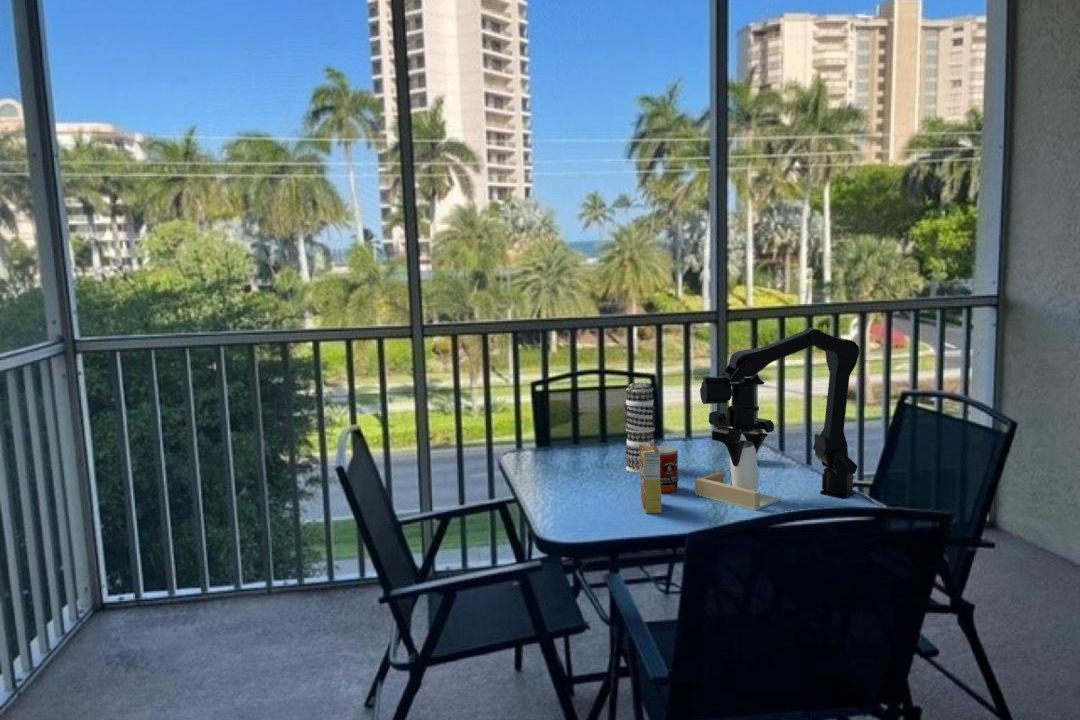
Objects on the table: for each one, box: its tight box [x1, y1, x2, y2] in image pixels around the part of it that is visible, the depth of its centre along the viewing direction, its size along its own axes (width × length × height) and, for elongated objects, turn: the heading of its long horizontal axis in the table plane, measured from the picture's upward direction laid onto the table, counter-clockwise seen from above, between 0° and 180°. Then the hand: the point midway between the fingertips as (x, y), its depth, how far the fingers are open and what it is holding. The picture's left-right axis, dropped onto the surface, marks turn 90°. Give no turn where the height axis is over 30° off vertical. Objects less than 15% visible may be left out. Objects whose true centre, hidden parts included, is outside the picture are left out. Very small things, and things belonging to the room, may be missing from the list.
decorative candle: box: [623, 382, 657, 474], centre depth 227 cm, size 9×9×25 cm
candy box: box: [639, 442, 662, 514], centre depth 192 cm, size 9×4×15 cm, turn 0°
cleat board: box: [694, 471, 782, 511], centre depth 199 cm, size 18×11×4 cm, turn 41°
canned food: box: [656, 444, 679, 494], centre depth 207 cm, size 8×8×11 cm
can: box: [729, 440, 760, 492], centre depth 198 cm, size 6×6×12 cm
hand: (743, 463), depth 197 cm, fingers closed on can, 6 cm apart
